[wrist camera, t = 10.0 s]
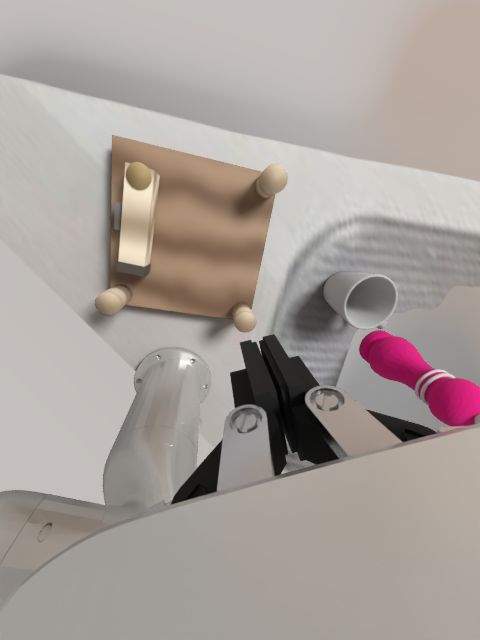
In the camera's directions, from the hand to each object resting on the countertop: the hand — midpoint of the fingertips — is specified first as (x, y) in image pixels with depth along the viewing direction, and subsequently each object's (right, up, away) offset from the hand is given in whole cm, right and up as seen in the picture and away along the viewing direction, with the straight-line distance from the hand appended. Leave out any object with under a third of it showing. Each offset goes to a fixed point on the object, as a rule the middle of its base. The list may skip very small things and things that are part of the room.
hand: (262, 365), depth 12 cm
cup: (+16, +7, +29) cm, 34 cm away
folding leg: (-14, +14, +19) cm, 28 cm away
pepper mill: (+24, -2, +33) cm, 41 cm away
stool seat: (-8, +13, +23) cm, 28 cm away
